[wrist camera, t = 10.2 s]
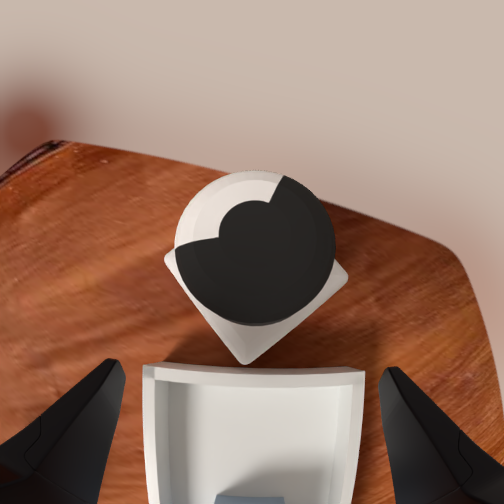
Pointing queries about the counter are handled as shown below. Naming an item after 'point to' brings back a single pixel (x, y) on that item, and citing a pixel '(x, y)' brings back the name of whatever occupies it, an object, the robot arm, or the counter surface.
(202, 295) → the medicine bottle
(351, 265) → the counter surface
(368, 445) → the counter surface
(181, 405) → the tote
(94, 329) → the counter surface
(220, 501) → the block
